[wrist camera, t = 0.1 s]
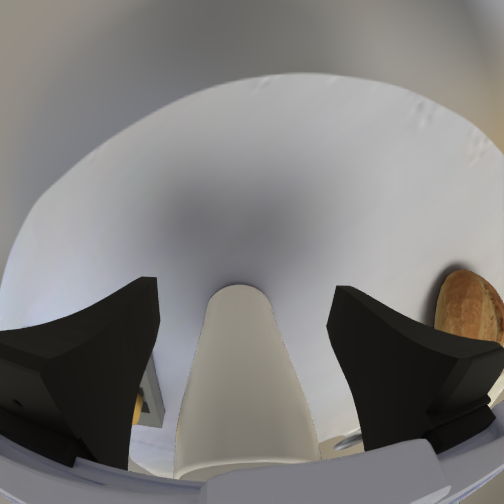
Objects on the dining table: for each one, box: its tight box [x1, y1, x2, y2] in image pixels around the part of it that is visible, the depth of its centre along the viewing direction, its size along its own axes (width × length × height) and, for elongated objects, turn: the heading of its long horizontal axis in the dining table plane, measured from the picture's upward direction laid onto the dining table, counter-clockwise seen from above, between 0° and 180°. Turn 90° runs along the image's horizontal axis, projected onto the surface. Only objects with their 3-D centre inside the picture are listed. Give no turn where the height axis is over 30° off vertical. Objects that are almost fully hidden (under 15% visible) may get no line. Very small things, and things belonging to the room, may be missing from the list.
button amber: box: [132, 393, 143, 425], centre depth 22 cm, size 4×4×2 cm
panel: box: [137, 353, 165, 428], centre depth 24 cm, size 10×16×2 cm, turn 86°
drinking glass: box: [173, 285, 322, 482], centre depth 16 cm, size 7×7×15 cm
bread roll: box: [434, 270, 504, 346], centre depth 22 cm, size 10×15×8 cm, turn 23°
